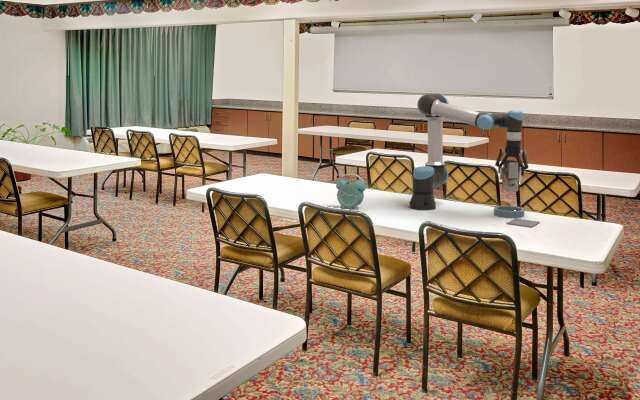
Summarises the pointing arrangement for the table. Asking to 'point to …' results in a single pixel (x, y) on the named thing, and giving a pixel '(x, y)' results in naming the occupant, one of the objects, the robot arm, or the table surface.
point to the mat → (523, 222)
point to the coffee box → (510, 175)
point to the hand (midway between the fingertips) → (510, 180)
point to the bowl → (508, 211)
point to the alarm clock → (350, 192)
